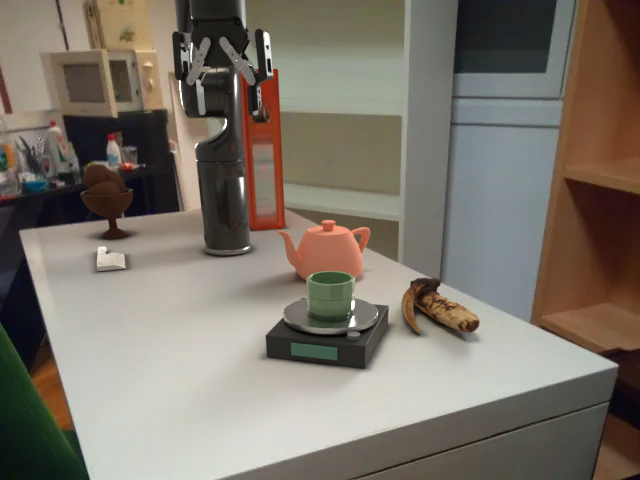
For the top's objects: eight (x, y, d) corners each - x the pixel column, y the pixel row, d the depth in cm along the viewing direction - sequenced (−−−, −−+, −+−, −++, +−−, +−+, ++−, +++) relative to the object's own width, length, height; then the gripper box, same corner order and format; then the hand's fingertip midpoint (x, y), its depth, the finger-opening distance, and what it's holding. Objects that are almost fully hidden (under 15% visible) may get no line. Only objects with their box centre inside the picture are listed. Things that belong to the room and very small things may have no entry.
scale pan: (300, 297, 86) (300, 292, 85) (386, 305, 83) (386, 300, 82) (269, 329, 76) (269, 323, 75) (366, 339, 72) (366, 333, 72)
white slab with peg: (124, 249, 123) (123, 243, 122) (125, 269, 111) (124, 263, 110) (98, 250, 122) (97, 245, 121) (96, 271, 109) (95, 265, 109)
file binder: (251, 230, 137) (241, 68, 120) (237, 215, 151) (226, 69, 134) (285, 228, 139) (279, 68, 122) (268, 213, 153) (261, 69, 137)
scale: (302, 316, 89) (301, 293, 87) (387, 325, 85) (389, 301, 84) (265, 357, 76) (264, 331, 74) (364, 369, 73) (365, 342, 71)
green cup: (315, 301, 82) (314, 269, 80) (358, 305, 81) (359, 272, 78) (301, 316, 77) (300, 282, 75) (347, 321, 76) (347, 286, 73)
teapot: (384, 278, 105) (387, 223, 100) (290, 293, 98) (288, 234, 93) (352, 261, 114) (353, 210, 109) (265, 273, 108) (262, 219, 103)
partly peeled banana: (376, 307, 93) (431, 348, 78) (376, 278, 91) (433, 314, 76) (429, 298, 96) (492, 336, 81) (430, 269, 93) (496, 303, 78)
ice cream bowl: (126, 242, 128) (113, 167, 120) (79, 240, 130) (63, 166, 122) (148, 231, 137) (137, 160, 129) (104, 229, 139) (90, 160, 131)
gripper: (275, -21, 80) (280, 114, 89) (181, -17, 84) (194, 113, 92) (255, -29, 74) (262, 117, 83) (154, -23, 78) (170, 116, 86)
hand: (226, 115), depth 87 cm, fingers open, 8 cm apart
